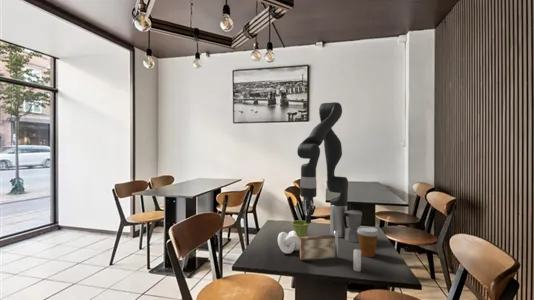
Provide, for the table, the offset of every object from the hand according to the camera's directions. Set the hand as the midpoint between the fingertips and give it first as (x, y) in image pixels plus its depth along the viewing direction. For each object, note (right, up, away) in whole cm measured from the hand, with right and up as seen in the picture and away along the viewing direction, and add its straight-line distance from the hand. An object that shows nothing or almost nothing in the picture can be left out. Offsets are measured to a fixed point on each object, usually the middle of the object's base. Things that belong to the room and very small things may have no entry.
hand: (308, 223), depth 136 cm
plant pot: (-1, -14, +23) cm, 27 cm away
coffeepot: (+26, -14, +20) cm, 36 cm away
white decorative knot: (-9, -15, +4) cm, 18 cm away
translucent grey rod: (+12, -15, -4) cm, 19 cm away
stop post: (+18, -15, -17) cm, 29 cm away
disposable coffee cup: (+28, -15, 0) cm, 32 cm away
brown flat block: (+3, -14, -6) cm, 15 cm away
